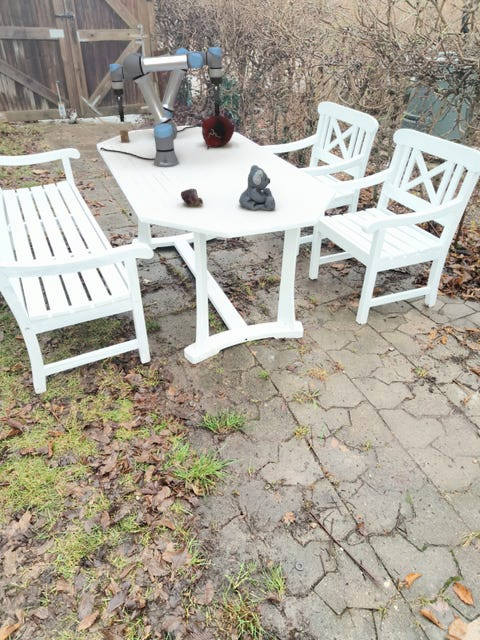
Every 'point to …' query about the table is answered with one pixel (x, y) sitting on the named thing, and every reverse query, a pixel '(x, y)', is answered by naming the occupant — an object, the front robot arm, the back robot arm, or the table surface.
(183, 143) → the table surface
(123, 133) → the block
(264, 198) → the koala plush
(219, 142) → the dark red rounded piece
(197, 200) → the rock
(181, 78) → the back robot arm
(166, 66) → the front robot arm
